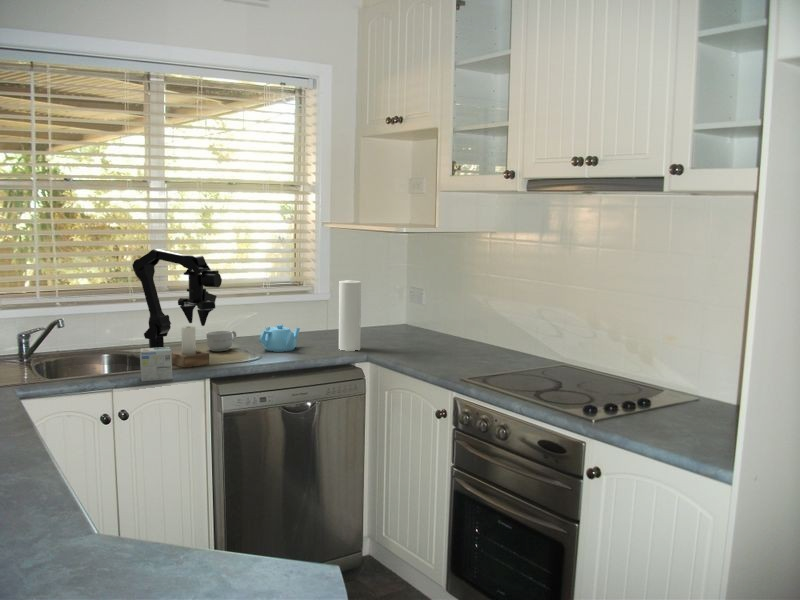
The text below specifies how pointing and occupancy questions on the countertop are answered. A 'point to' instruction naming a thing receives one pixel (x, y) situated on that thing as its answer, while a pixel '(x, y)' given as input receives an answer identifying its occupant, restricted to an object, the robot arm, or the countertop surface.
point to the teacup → (220, 340)
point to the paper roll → (188, 340)
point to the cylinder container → (349, 315)
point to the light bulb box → (156, 364)
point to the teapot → (279, 338)
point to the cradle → (190, 359)
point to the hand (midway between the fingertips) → (196, 324)
